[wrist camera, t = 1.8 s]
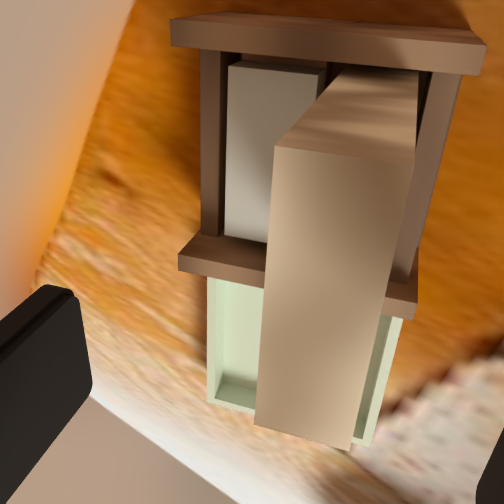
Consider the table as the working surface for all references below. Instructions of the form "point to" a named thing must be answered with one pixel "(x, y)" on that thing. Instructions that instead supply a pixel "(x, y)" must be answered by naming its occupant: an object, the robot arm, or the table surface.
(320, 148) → the block
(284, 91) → the offcut top
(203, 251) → the rack
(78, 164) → the table surface
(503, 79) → the table surface
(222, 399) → the tray
